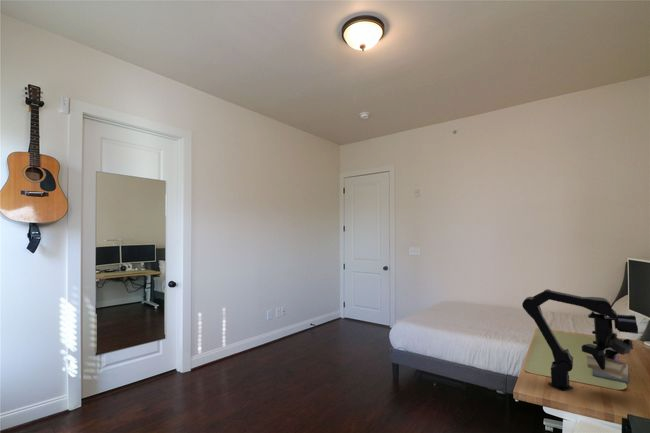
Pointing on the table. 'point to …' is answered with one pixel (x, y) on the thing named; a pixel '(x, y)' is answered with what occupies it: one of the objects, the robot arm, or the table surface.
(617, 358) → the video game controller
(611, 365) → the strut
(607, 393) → the table surface
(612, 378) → the bin
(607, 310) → the robot arm
